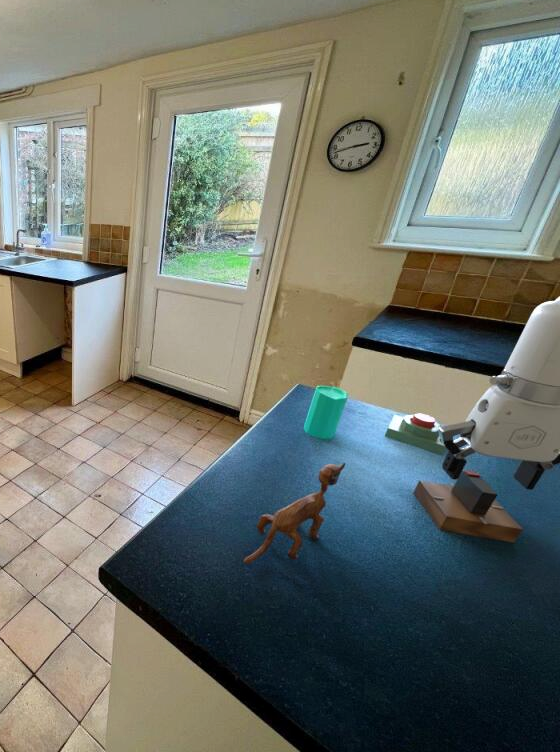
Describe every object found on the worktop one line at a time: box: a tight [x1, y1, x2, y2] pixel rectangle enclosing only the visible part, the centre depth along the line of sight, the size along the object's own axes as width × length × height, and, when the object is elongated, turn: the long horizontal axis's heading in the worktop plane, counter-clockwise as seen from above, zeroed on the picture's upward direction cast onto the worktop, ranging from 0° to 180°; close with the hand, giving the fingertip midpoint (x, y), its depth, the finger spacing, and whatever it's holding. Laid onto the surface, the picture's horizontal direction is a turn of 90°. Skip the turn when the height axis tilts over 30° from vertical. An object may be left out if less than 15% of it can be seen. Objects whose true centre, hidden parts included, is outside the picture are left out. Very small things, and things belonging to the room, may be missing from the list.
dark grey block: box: [452, 469, 499, 515], centre depth 69 cm, size 6×2×5 cm, turn 165°
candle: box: [303, 384, 349, 440], centre depth 92 cm, size 6×6×12 cm
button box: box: [384, 414, 448, 456], centre depth 91 cm, size 10×8×4 cm
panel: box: [412, 480, 523, 544], centre depth 71 cm, size 10×10×3 cm
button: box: [411, 412, 436, 428], centre depth 90 cm, size 4×4×2 cm
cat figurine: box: [243, 462, 346, 565], centre depth 63 cm, size 18×7×14 cm, turn 118°
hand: (485, 478), depth 68 cm, fingers open, 9 cm apart
